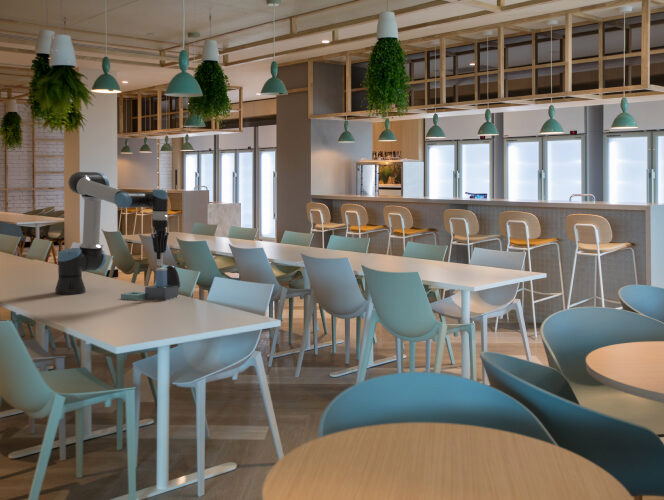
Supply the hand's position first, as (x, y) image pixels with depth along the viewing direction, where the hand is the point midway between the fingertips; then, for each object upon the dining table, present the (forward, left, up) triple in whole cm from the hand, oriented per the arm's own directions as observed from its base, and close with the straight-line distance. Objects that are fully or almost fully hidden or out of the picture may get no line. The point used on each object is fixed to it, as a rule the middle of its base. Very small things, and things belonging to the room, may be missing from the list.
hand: (159, 265), depth 356 cm
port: (+1, 0, -17) cm, 17 cm away
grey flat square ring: (-11, -6, -17) cm, 21 cm away
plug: (+1, 0, -16) cm, 16 cm away
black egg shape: (-3, +15, -17) cm, 23 cm away
